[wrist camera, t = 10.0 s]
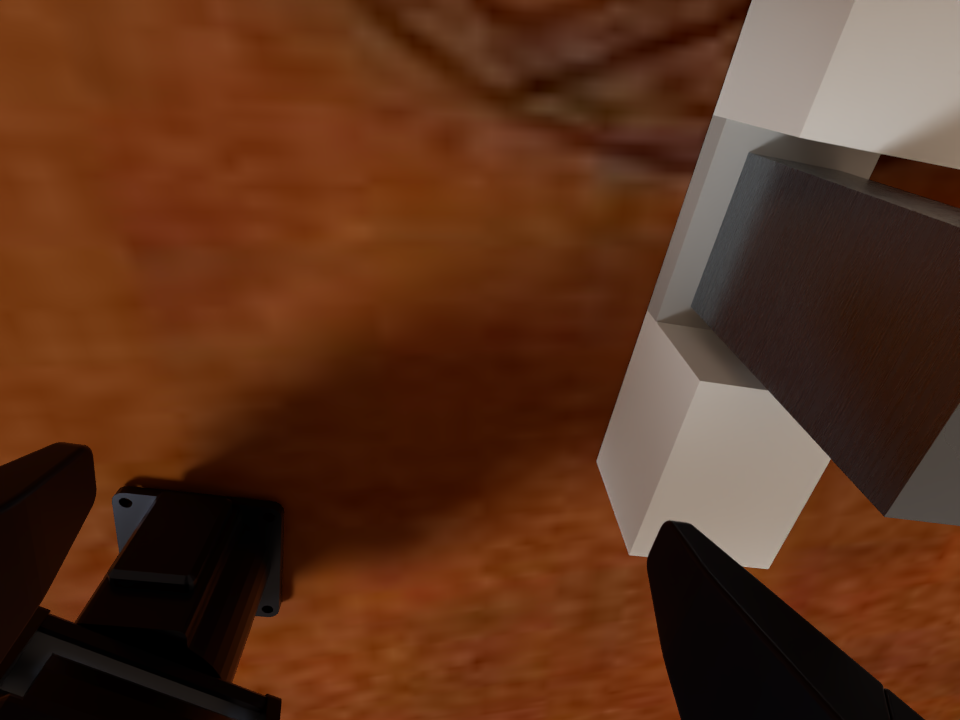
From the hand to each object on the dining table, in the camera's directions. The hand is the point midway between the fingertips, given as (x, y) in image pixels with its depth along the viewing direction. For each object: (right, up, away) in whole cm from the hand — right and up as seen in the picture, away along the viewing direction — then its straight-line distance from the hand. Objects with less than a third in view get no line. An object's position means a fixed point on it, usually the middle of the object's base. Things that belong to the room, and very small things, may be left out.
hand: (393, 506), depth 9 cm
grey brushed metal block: (+10, +6, +9) cm, 15 cm away
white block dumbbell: (+10, +7, +10) cm, 16 cm away
